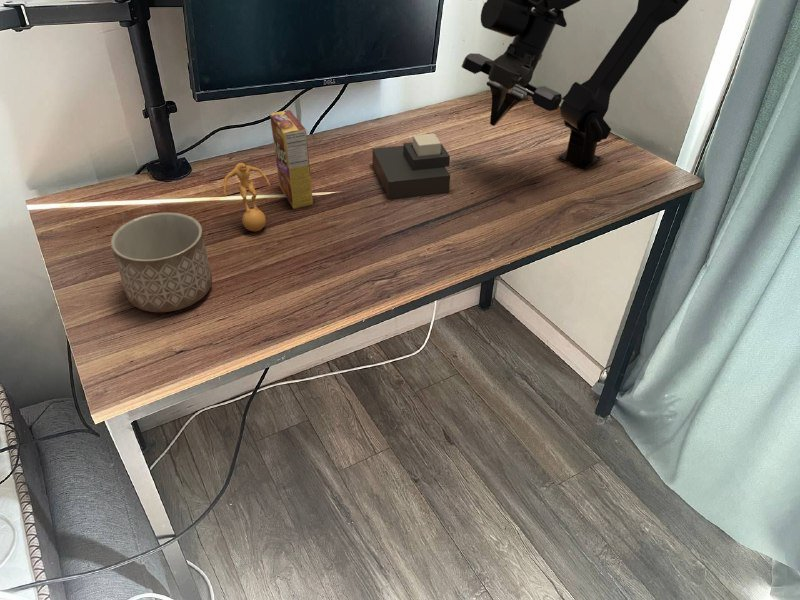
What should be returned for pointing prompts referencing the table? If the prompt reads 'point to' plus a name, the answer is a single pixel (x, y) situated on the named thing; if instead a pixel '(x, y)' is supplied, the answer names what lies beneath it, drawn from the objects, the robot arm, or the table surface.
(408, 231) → the table surface
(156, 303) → the planter
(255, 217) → the figure on ball
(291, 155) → the candy box
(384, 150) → the stepped base
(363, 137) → the table surface
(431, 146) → the cream block
